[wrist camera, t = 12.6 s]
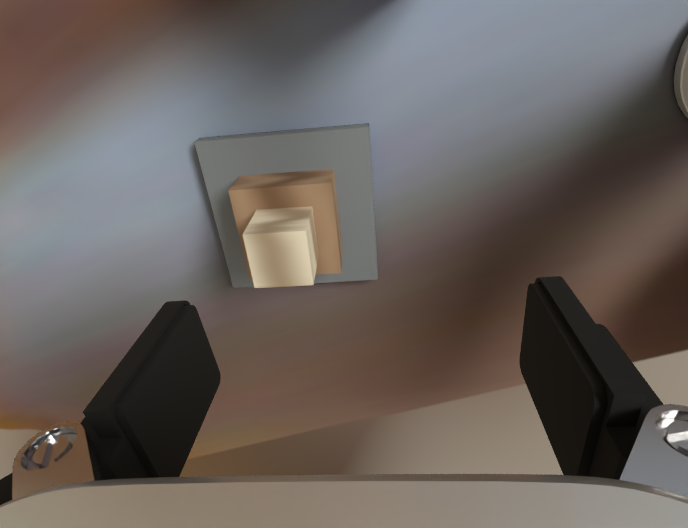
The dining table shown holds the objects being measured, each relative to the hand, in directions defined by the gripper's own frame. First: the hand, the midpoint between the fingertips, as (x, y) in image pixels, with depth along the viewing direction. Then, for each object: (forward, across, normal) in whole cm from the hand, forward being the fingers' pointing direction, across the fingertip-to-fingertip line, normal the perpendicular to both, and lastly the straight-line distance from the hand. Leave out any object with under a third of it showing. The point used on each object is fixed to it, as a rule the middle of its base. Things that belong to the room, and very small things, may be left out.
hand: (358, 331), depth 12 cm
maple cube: (+24, +8, +8) cm, 27 cm away
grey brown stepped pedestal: (+30, +8, +8) cm, 32 cm away
